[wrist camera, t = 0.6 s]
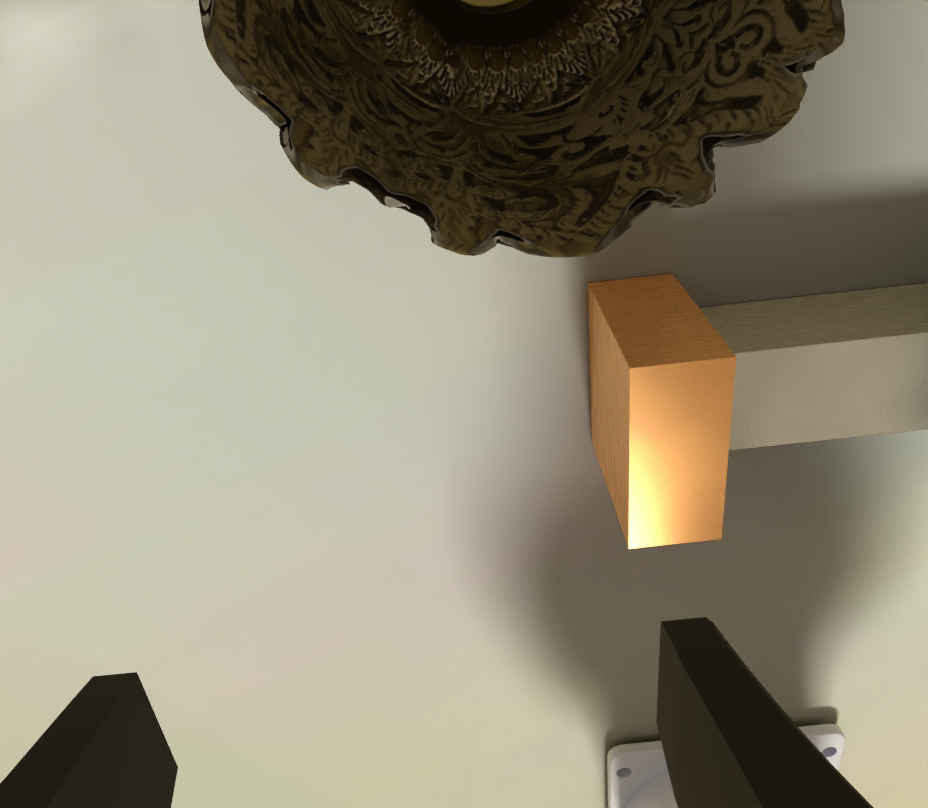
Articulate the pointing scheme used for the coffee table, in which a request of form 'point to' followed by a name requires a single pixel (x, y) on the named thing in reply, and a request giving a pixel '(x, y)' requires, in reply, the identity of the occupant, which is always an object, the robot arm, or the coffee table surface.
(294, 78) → the cup
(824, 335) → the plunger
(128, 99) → the coffee table surface
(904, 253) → the coffee table surface
